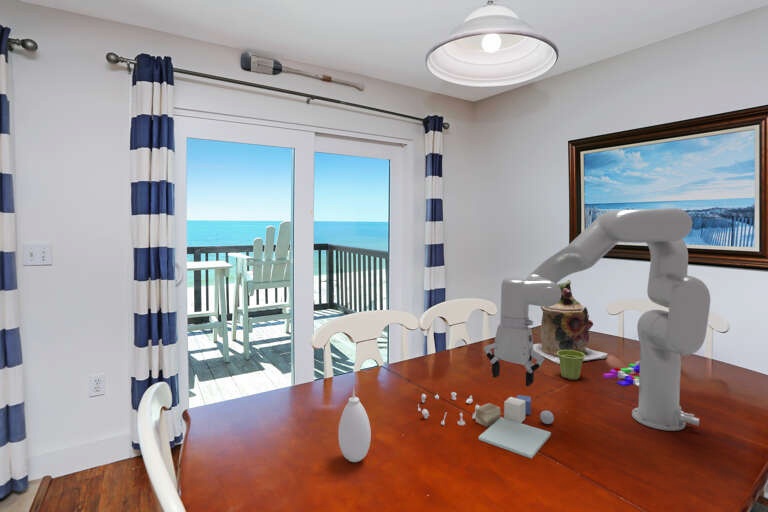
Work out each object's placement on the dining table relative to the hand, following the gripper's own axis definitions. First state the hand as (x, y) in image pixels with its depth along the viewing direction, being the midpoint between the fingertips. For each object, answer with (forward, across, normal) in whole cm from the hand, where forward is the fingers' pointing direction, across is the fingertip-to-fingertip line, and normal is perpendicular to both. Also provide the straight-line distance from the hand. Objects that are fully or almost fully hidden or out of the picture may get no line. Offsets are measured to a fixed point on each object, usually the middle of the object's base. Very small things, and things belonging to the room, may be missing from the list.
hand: (512, 380), depth 116 cm
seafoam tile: (+12, -5, +8) cm, 15 cm away
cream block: (+12, -1, -1) cm, 12 cm away
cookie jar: (+11, +6, -72) cm, 74 cm away
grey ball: (+10, -9, -4) cm, 14 cm away
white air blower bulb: (+13, +21, +42) cm, 49 cm away
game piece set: (+13, +17, +5) cm, 22 cm away
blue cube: (+12, -1, -8) cm, 14 cm away
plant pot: (+11, -4, -46) cm, 47 cm away
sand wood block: (+12, +5, +4) cm, 14 cm away
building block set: (+11, -25, -60) cm, 65 cm away
